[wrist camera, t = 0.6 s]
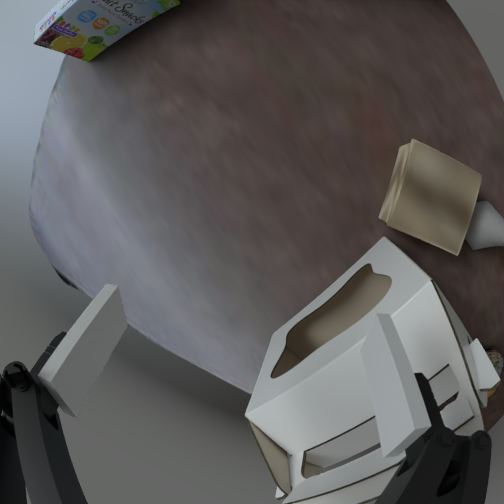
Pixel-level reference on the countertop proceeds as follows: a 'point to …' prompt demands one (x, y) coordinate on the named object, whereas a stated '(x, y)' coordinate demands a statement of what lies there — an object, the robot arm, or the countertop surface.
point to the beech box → (431, 196)
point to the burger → (497, 362)
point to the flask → (485, 227)
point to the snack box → (94, 24)
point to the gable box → (358, 379)
